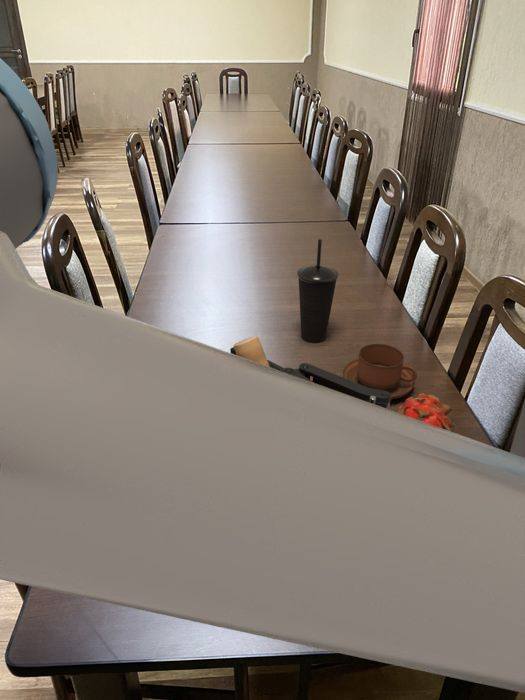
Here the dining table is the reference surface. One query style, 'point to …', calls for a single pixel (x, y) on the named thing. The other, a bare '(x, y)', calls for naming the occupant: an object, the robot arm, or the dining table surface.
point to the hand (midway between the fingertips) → (222, 363)
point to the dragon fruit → (427, 411)
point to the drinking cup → (316, 298)
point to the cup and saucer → (381, 370)
